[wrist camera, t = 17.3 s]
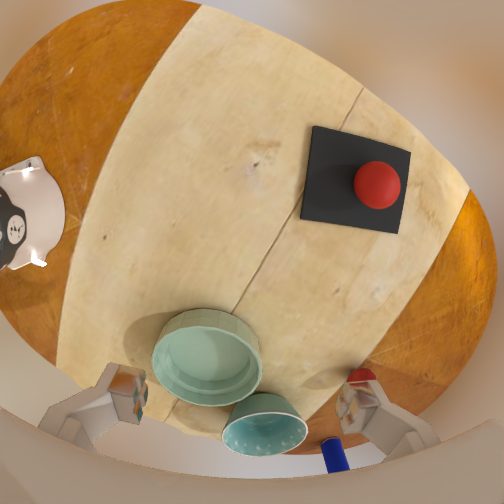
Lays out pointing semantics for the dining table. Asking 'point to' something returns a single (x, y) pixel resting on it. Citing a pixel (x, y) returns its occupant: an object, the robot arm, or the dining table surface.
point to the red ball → (377, 185)
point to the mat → (349, 180)
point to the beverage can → (334, 455)
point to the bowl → (263, 426)
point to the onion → (361, 375)
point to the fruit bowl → (207, 358)
